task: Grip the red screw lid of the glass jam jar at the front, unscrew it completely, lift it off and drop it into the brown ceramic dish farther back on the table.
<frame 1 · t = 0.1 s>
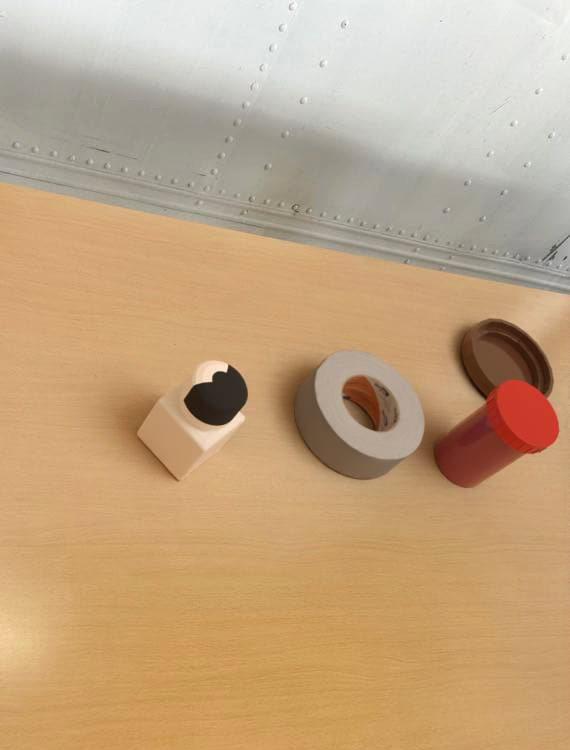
lid: (525, 414, 92), point 12 cm above the table, screwed on, not yet turned
jam jar: (458, 461, 102), on the table
dish: (500, 370, 112), on the table
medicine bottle: (177, 443, 87), on the table
tape roll: (347, 425, 97), on the table
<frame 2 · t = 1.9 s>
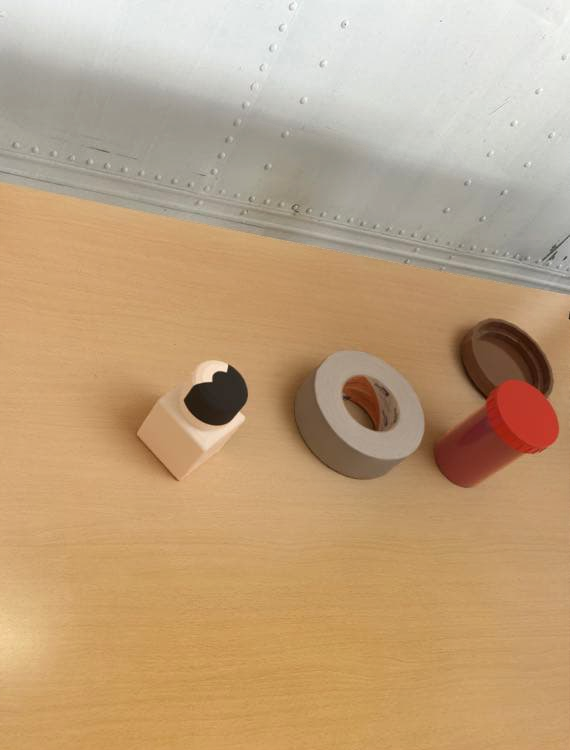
nothing on the table moved.
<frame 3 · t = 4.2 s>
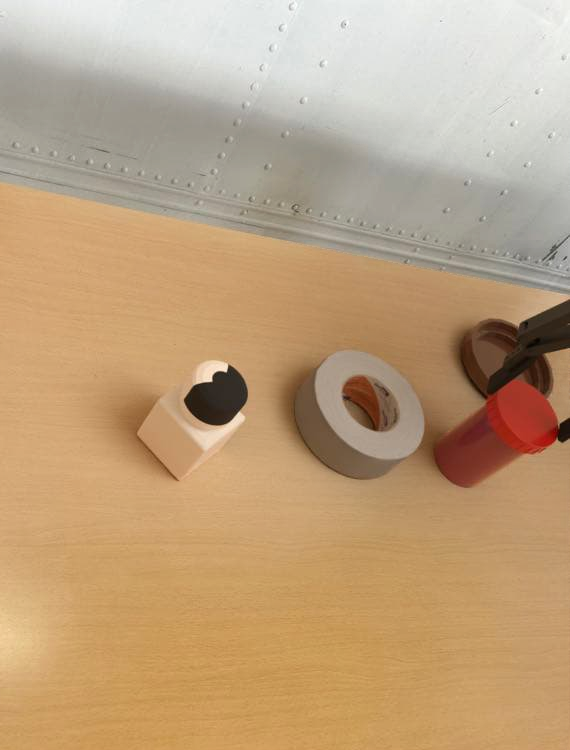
hand: (526, 409, 91), 12 cm above the table, tool pointing down
lid: (525, 414, 92), point 12 cm above the table, screwed on, not yet turned, touching gripper
everything else where it was.
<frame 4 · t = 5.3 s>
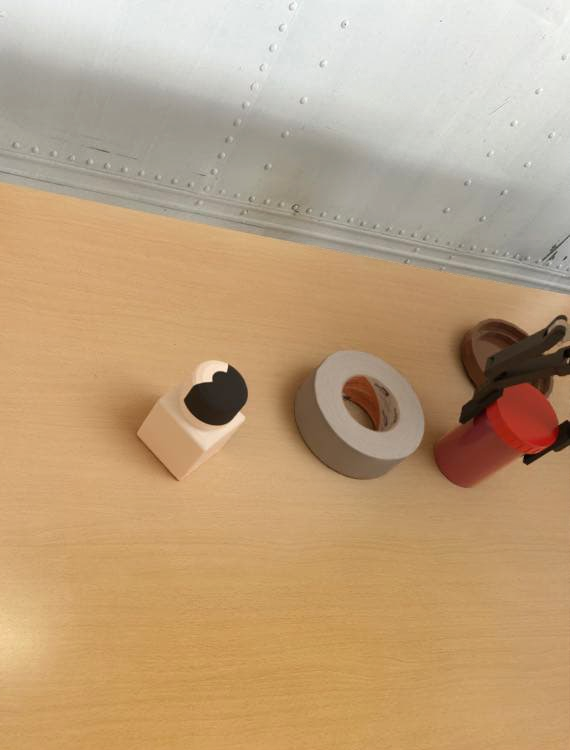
hand: (494, 435, 96), 7 cm above the table, tool pointing down, fingers closed on lid, 9 cm apart
lid: (525, 414, 92), point 12 cm above the table, screwed on, not yet turned, touching gripper
everything else where it was.
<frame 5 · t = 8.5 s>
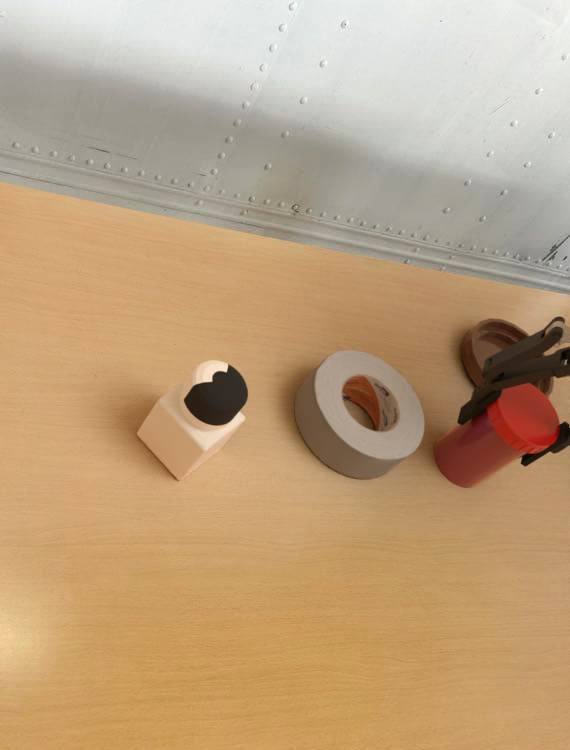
hand: (493, 437, 97), 6 cm above the table, tool pointing down, fingers closed on lid, 9 cm apart
lid: (526, 413, 92), point 12 cm above the table, turned 93° so far, risen 0.1 cm, still on its thread, touching gripper
everything else where it was.
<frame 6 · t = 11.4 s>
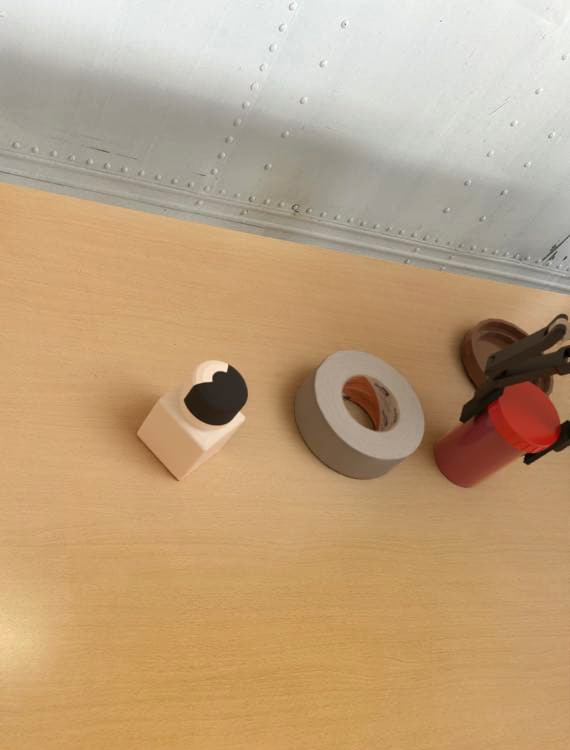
hand: (495, 435, 96), 7 cm above the table, tool pointing down, fingers closed on lid, 9 cm apart
lid: (527, 413, 92), point 12 cm above the table, turned 187° so far, risen 0.3 cm, still on its thread, touching gripper
everything else where it was.
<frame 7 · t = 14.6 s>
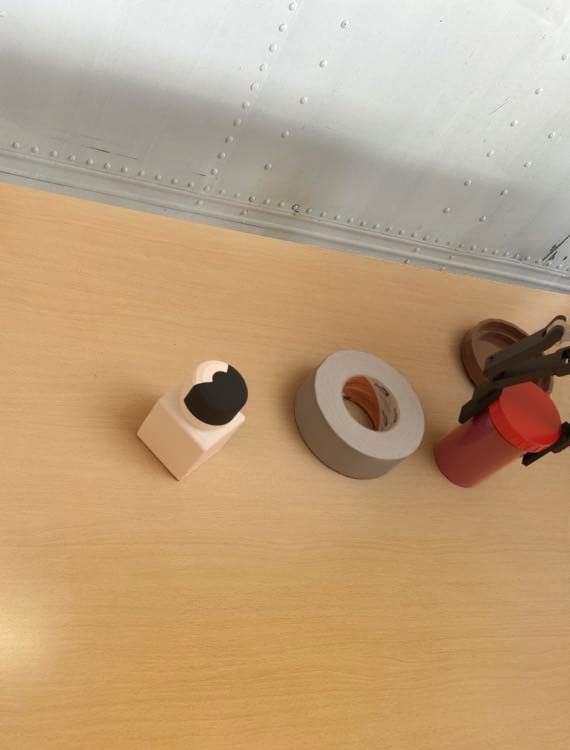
hand: (494, 436, 96), 6 cm above the table, tool pointing down, fingers closed on lid, 9 cm apart
lid: (528, 412, 92), point 12 cm above the table, turned 280° so far, risen 0.4 cm, still on its thread, touching gripper
everything else where it was.
when the fingers open (3 cm above the table, at t = 25.0 s): lid drops 7 cm, resting on dish.
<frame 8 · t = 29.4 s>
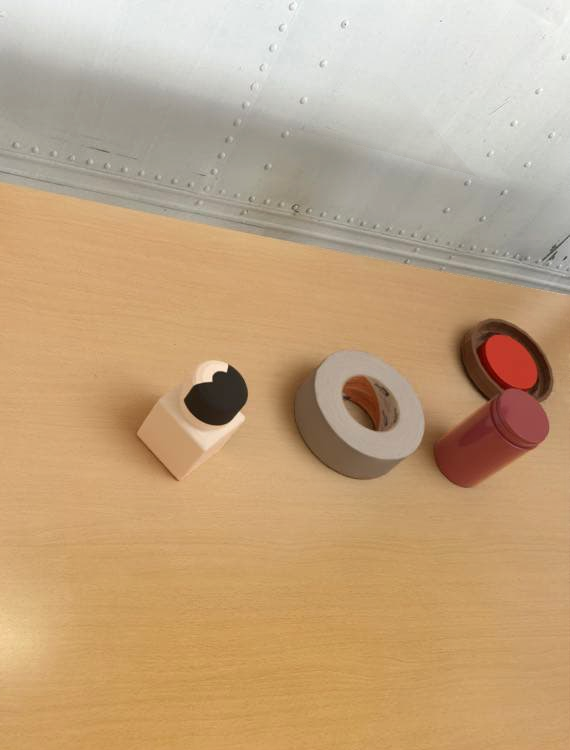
lid: (509, 362, 111), point 2 cm above the table, off its thread, touching dish
everything else where it was.
at the end: lid inside the target area in the dish (0.0 cm from its centre), point 1.9 cm above the dish's base; lid came off its thread; the gripper is holding nothing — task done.
